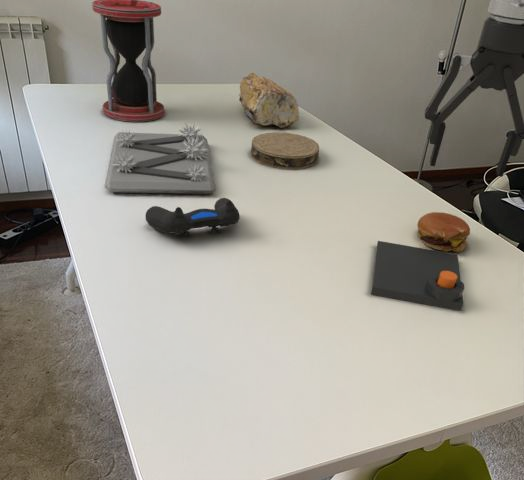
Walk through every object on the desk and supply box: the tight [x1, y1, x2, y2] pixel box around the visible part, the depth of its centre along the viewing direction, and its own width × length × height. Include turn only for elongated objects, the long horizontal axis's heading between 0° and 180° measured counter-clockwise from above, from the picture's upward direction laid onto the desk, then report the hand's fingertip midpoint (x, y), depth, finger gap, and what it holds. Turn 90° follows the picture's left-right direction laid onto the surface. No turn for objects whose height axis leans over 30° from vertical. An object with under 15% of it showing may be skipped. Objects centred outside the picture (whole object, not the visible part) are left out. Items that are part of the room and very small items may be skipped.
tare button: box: [437, 271, 457, 289], centre depth 85 cm, size 3×3×2 cm
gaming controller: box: [144, 197, 241, 236], centre depth 97 cm, size 17×6×10 cm
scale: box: [370, 240, 465, 311], centre depth 91 cm, size 14×16×3 cm
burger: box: [417, 211, 471, 253], centre depth 101 cm, size 10×9×5 cm
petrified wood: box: [238, 72, 300, 129], centre depth 150 cm, size 19×13×10 cm
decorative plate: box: [104, 122, 217, 195], centre depth 117 cm, size 30×22×7 cm
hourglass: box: [91, 0, 165, 123], centre depth 140 cm, size 16×16×25 cm
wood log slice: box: [250, 131, 320, 170], centre depth 130 cm, size 16×16×3 cm
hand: (465, 168), depth 94 cm, fingers open, 10 cm apart
